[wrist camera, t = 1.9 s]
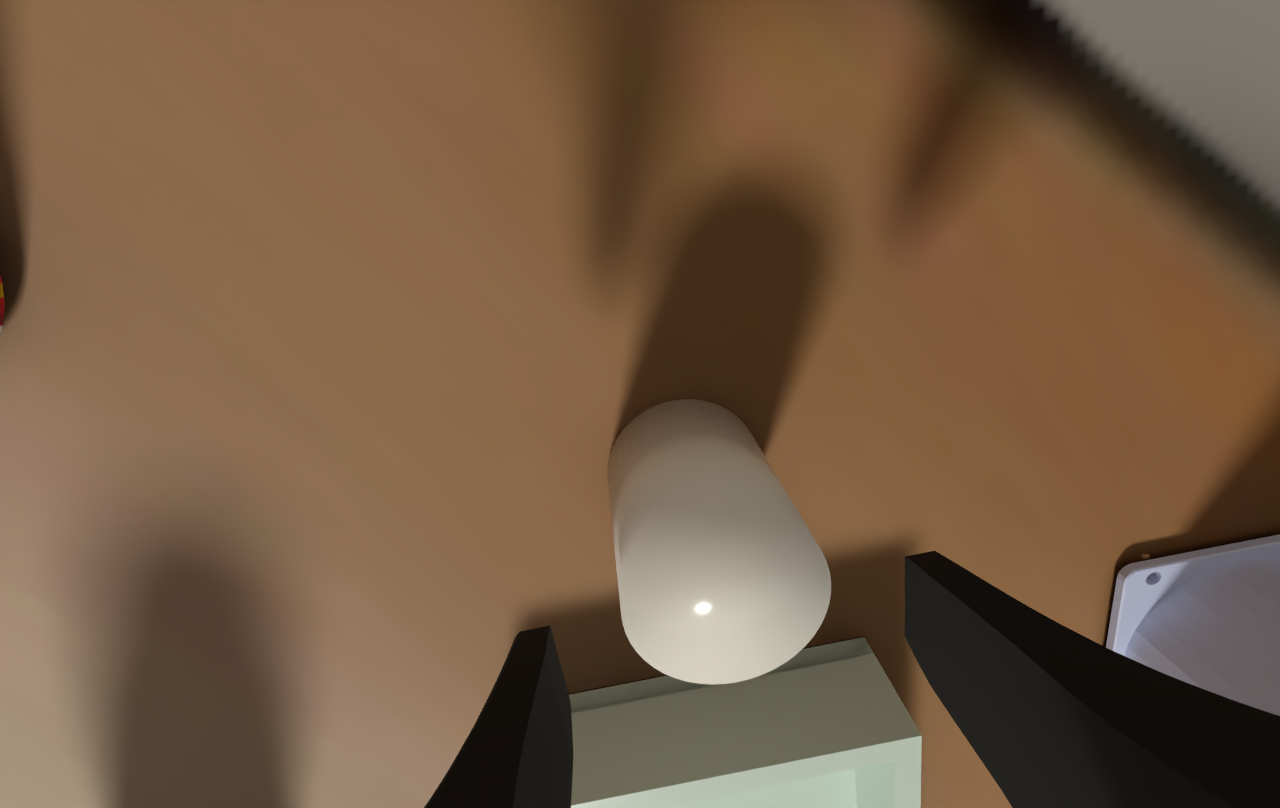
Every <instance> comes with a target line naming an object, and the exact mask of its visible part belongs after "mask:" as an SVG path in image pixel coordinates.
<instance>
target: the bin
mask: <svg viewBox="0 0 1280 808" xmlns="http://www.w3.org/2000/svg"><path fill="white" fill-rule="evenodd" d="M569 698H570V702H571V717H572V734H573V776H572V796H571V808H920V806H921V747H922V735H921V734H920V732H919V730H918V728H917V727H916V725H915V723H914V722H913V720H912V718H911V716H910V715H909V713H908V711H907V709H906V708H905V706H904V704H903V703H902V701H901V699H900V697H899V696H898V694H897V692H896V691H895V689H894V687H893V685H892V684H891V682H890V680H889V679H888V677H887V675H886V673H885V672H884V670H883V668H882V666H881V665H880V663H879V661H878V660H877V658H876V656H875V654H874V653H873V651H872V649H871V648H870V646H869V644H868V642H867V641H866V639H865V637H862V638H857V639H852V640H847V641H842V642H837V643H832V644H826V645H821V646H816V647H811V648H806V649H802V650H801V651H800V652H798V653H797V654H796V655H795V656H794V657H792V658H791V659H790V660H788V661H787V662H786V663H784V664H782V665H781V666H779V667H777V668H776V669H774V670H772V671H770V672H767V673H765V674H763V675H760V676H758V677H755V678H752V679H748V680H744V681H740V682H735V683H728V684H713V685H712V684H698V683H692V682H686V681H683V680H679V679H676V678H673V677H671V676H662V677H657V678H652V679H647V680H642V681H637V682H632V683H627V684H621V685H616V686H611V687H606V688H601V689H596V690H591V691H586V692H580V693H575V694H570V695H569Z"/></svg>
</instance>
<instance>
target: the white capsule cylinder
mask: <svg viewBox="0 0 1280 808" xmlns="http://www.w3.org/2000/svg"><path fill="white" fill-rule="evenodd" d="M607 476H608V486H609V497H610V507H611V517H612V527H613V537H614V548H615V558H616V568H617V578H618V588H619V598H620V609H621V617H622V624H623V627H624V630H625V633H626V635H627V637H628V640H629V642H630V643H631V645H632V646H633V648H634V649H635V651H636V652H637V653H638V654H639V655H640V656H641V657H642V658H643V659H644V660H645V661H646V662H647V663H648V664H650V665H651V666H652V667H654V668H655V669H657V670H659V671H660V672H662V673H664V674H666V675H668V676H671V677H673V678H676V679H679V680H683V681H686V682H692V683H698V684H712V685H713V684H728V683H735V682H740V681H744V680H748V679H752V678H755V677H758V676H760V675H763V674H765V673H767V672H770V671H772V670H774V669H776V668H777V667H779V666H781V665H782V664H784V663H786V662H787V661H788V660H790V659H791V658H792V657H794V656H795V655H796V654H797V653H798V652H800V651H801V650H802V649H803V648H804V647H805V646H806V645H807V644H808V642H809V641H810V640H811V639H812V638H813V637H814V635H815V634H816V632H817V630H818V629H819V627H820V626H821V624H822V622H823V620H824V618H825V615H826V612H827V609H828V606H829V602H830V597H831V577H830V571H829V567H828V564H827V561H826V559H825V557H824V555H823V553H822V551H821V549H820V547H819V546H818V544H817V542H816V541H815V539H814V537H813V536H812V534H811V532H810V531H809V529H808V527H807V526H806V524H805V522H804V521H803V519H802V517H801V516H800V514H799V512H798V511H797V509H796V507H795V506H794V504H793V502H792V501H791V499H790V497H789V496H788V494H787V492H786V491H785V489H784V487H783V486H782V484H781V482H780V481H779V479H778V477H777V476H776V474H775V472H774V471H773V469H772V467H771V466H770V464H769V462H768V461H767V459H766V457H765V456H764V454H763V452H762V451H761V449H760V447H759V446H758V444H757V442H756V441H755V439H754V437H753V436H752V434H751V432H750V431H749V429H748V428H747V427H746V425H745V424H744V423H743V422H742V421H741V420H740V419H739V418H738V417H737V416H736V415H735V414H733V413H732V412H731V411H729V410H727V409H726V408H724V407H722V406H720V405H717V404H715V403H712V402H708V401H704V400H697V399H680V400H672V401H668V402H664V403H661V404H659V405H656V406H653V407H651V408H649V409H647V410H646V411H644V412H642V413H641V414H639V415H638V416H637V417H635V418H634V419H633V420H632V421H631V422H630V423H628V424H627V426H626V427H625V428H624V429H623V430H622V431H621V433H620V434H619V436H618V437H617V439H616V441H615V443H614V445H613V447H612V450H611V453H610V456H609V461H608V470H607Z"/></svg>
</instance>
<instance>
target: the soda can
mask: <svg viewBox="0 0 1280 808" xmlns="http://www.w3.org/2000/svg"><path fill="white" fill-rule="evenodd" d="M4 306H5V301H4V293H3V285H2V279H1V276H0V334H1V330H2V327H3V321H4Z"/></svg>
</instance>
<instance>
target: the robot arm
mask: <svg viewBox="0 0 1280 808" xmlns="http://www.w3.org/2000/svg"><path fill="white" fill-rule="evenodd" d="M905 637H906V639H907V641H908V643H909V645H910V647H911V649H912V651H913V653H914V655H915V657H916V659H917V661H918V663H919V665H920V667H921V669H922V671H923V673H924V674H925V676H926V678H927V680H928V682H929V684H930V685H931V687H932V688H933V690H934V691H935V693H936V694H937V696H938V697H939V699H940V700H941V702H942V703H943V705H944V706H945V708H946V709H947V711H948V712H949V714H950V715H951V717H952V718H953V720H954V721H955V722H956V724H957V725H958V727H959V728H960V730H961V731H962V733H963V734H964V736H965V737H966V739H967V740H968V741H969V743H970V744H971V746H972V747H973V749H974V750H975V752H976V753H977V755H978V756H979V758H980V759H981V760H982V762H983V763H984V765H985V766H986V768H987V769H988V771H989V772H990V774H991V775H992V777H993V778H994V779H995V781H996V782H997V784H998V785H999V787H1000V788H1001V790H1002V791H1003V793H1004V795H1005V796H1006V798H1007V799H1008V801H1009V803H1010V804H1011V806H1012V807H1013V808H1280V534H1279V535H1274V536H1269V537H1264V538H1259V539H1254V540H1248V541H1243V542H1238V543H1233V544H1228V545H1223V546H1217V547H1212V548H1207V549H1202V550H1197V551H1192V552H1187V553H1181V554H1176V555H1171V556H1166V557H1161V558H1156V559H1151V560H1145V561H1140V562H1135V563H1131V564H1128V565H1126V566H1125V567H1123V568H1122V569H1121V570H1120V571H1119V573H1118V576H1117V580H1116V587H1115V593H1114V599H1113V606H1112V612H1111V618H1110V624H1109V631H1108V637H1107V643H1106V647H1104V646H1102V645H1100V644H1098V643H1096V642H1094V641H1092V640H1090V639H1088V638H1086V637H1084V636H1082V635H1080V634H1078V633H1076V632H1074V631H1072V630H1070V629H1068V628H1066V627H1065V626H1063V625H1061V624H1059V623H1057V622H1055V621H1053V620H1051V619H1050V618H1048V617H1046V616H1044V615H1042V614H1041V613H1039V612H1037V611H1035V610H1033V609H1032V608H1030V607H1028V606H1026V605H1025V604H1023V603H1021V602H1019V601H1018V600H1016V599H1014V598H1013V597H1011V596H1009V595H1007V594H1006V593H1004V592H1002V591H1001V590H999V589H997V588H996V587H994V586H992V585H991V584H989V583H987V582H986V581H984V580H982V579H981V578H979V577H977V576H976V575H974V574H973V573H971V572H969V571H968V570H966V569H964V568H963V567H961V566H959V565H958V564H956V563H954V562H953V561H951V560H949V559H948V558H946V557H944V556H943V555H941V554H939V553H937V552H936V551H932V552H927V553H921V554H916V555H911V556H906V557H905ZM572 776H573V734H572V717H571V702H570V698H569V694H568V691H567V687H566V683H565V679H564V676H563V672H562V668H561V665H560V661H559V657H558V654H557V650H556V646H555V642H554V639H553V635H552V631H551V628H550V626H547V627H542V628H536V629H531V630H526V631H521V632H519V633H518V634H517V636H516V637H515V639H514V642H513V644H512V647H511V649H510V651H509V654H508V656H507V659H506V661H505V663H504V665H503V668H502V670H501V672H500V674H499V676H498V679H497V681H496V683H495V685H494V687H493V689H492V691H491V693H490V695H489V697H488V699H487V701H486V703H485V705H484V707H483V709H482V711H481V713H480V715H479V717H478V719H477V721H476V723H475V725H474V727H473V729H472V730H471V732H470V734H469V736H468V737H467V739H466V741H465V743H464V744H463V746H462V748H461V750H460V751H459V753H458V755H457V757H456V758H455V760H454V762H453V764H452V765H451V767H450V769H449V770H448V772H447V774H446V775H445V777H444V778H443V780H442V782H441V783H440V785H439V786H438V788H437V789H436V791H435V792H434V794H433V796H432V797H431V799H430V800H429V801H428V803H427V804H426V806H425V807H424V808H571V796H572Z"/></svg>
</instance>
